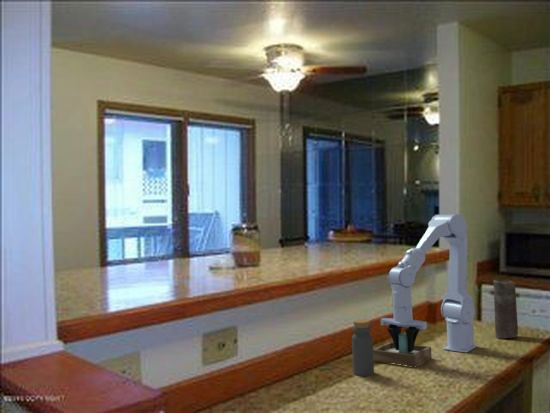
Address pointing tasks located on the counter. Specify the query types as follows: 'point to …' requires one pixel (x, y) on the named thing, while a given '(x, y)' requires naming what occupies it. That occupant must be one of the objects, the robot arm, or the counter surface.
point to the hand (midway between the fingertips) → (404, 350)
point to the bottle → (362, 348)
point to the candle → (505, 309)
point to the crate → (401, 355)
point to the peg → (403, 343)
